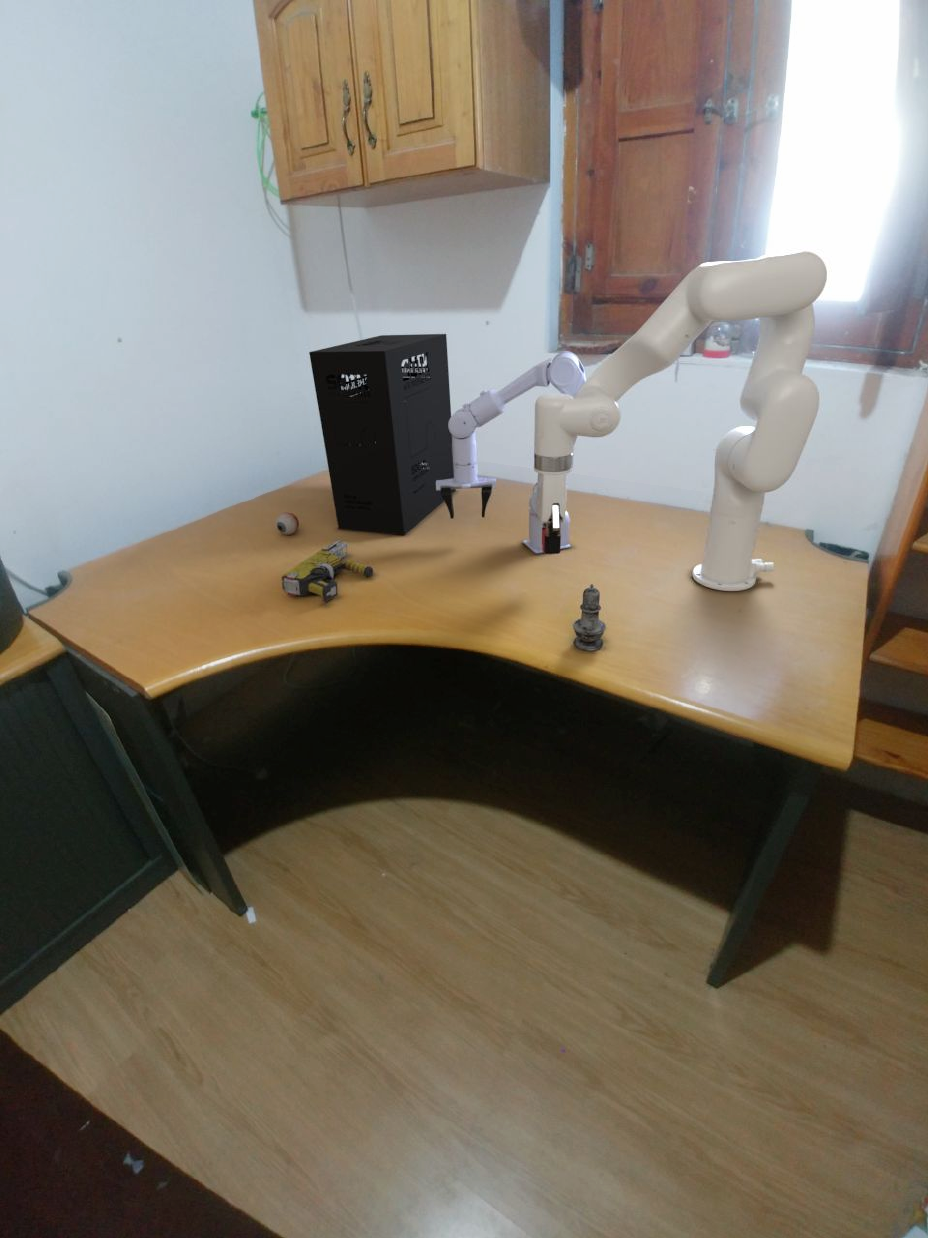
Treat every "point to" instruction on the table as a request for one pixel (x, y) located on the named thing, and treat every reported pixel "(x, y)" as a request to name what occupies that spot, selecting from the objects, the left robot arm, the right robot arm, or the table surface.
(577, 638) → the grey tiered stone figure
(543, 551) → the canister
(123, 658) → the table surface
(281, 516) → the eyeball
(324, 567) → the toy gun
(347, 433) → the cardboard box
